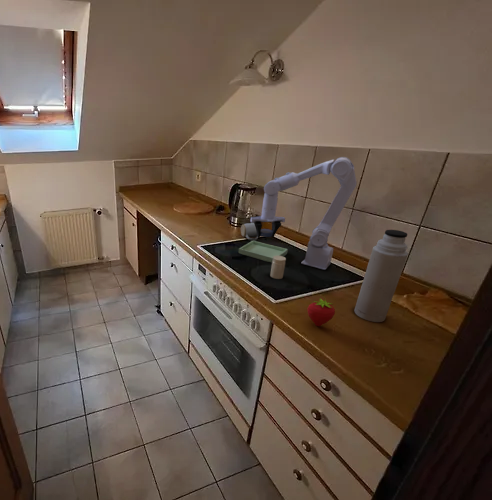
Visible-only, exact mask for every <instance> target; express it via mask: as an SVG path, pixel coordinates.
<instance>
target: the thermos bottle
mask: <svg viewBox="0 0 492 500" xmlns="http://www.w3.org/2000/svg"><path fill="white" fill-rule="evenodd" d="M407 237H408V233H407V232H406V231H403V230H398V229H385V231H384V234H383V237H382V238H381V239H378V240H377V242H376V245H374V246H373V247H372V250H371V253H370V257H369V260H368V264H367V267H366V270H365V273H364V277H363V280H362V283H361V287H360V290H359V294H358V297H357V300H356V303H355V307H354V313H355V315H356V316H358V317H359V318H361V319H363V320H366V321H369V322H373V323H382V322H384V321H385V320H386V318H387V315H388V313H389V310H390V306H391V303H392V300H393V298H394V295H395V292H396V289H397V287H398V284H399V280H400V278H401V275H402V272H403V270H404V267H405V264H406V261H407V259H408V256H409V252H408V251H407V250H408V244H407V243H406V238H407Z"/></svg>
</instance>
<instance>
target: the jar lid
mask: <svg viewBox="0 0 492 500" xmlns="http://www.w3.org/2000/svg"><path fill="white" fill-rule="evenodd" d="M271 236H273V231H272V229H270V228H261V232H260V237H264V238H272V237H271Z"/></svg>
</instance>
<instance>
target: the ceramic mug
mask: <svg viewBox="0 0 492 500" xmlns="http://www.w3.org/2000/svg"><path fill="white" fill-rule="evenodd" d="M240 235H241V237H243V238H246V239H247V240H248V241H250V242H251V241H257V240H258V239H259V238H258V237H257V231H256V227H255V224H254V223H252V222H250V223H249V222H248V223H243V224H241V225H240Z"/></svg>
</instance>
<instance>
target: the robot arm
mask: <svg viewBox="0 0 492 500" xmlns="http://www.w3.org/2000/svg"><path fill="white" fill-rule="evenodd" d="M330 174H331V175H332V176H333V177H335V178H336V179H337V181H338V183H339V185H340V187H339V188H338V190H337V192H336V194H335V196H334V197H333V199H332V201H331V203H330V204H329V206H328V208H327V210H326V212H325V214H324V215H323V217H322V219H321V220H320V222H319V224H318V225H317V226H316V227H314V228H313V229H312V232H311V235H310V236H309V241H308V242H307V248H306V253H305V256H304V259H303V260H302V261H301V263H300V264H302V265H306V266H309V267H313V268H317V269H320V270H324V271H325V270H327V269H328V268H329V266H330V265H331V264H332V263H331V262H332V258H333V254H334V247H332V246H329V243H328V241H329V236H330V233H331V231H332V228H333V226H334V225H335V223H336V221H337V219H338V218H339V216H340V215H341V213H342V211H343V210H344V208H345V206H346V204H347V203H348V200H349V199H350V197H351V196H352V194H353V192H354V190H355V189H356V187H357V184H358V183H357V176H356V171H355V165H354V164H353V162H352V161H351V159H350V158H349V157H346V156H340V157H338V158H335V159H330V160H326V161H324V162H321V163H319V164H316V165H314V166H312V167H310V168H306V169H305V170H303V171H301V172H298V173H297V172H294V171H292V172H289V171H288V172H286V173H285V175H282V176H279V177H275V178H274V179H272V180H269V181H268V182H267V183H265V185H264V186H263V192H264V195H263V200H262V208H261V213H260V214H261V215H259V216H251V217H250V219H249V221H250V223H254V224H255V227H256V231H257V237H258V239H260V238H261V236H260V232H261V229H263V228H262V227H263V224H262V223H271V230H272V231H273V236H271V237H270V238H271V239H274V238H275V235H276V234H277V232H278V231H279V229H280V228H281V226H282V223H285V222H286V217H284V216H276V213H277V206H278V199H279V191H280V192H283V191H286V190H288V189H291V188H294V187H296V186H298V185H299V183H300V182H301V181H303V180H306V179H309V178H312V177H315V176H318V175H329V176H330ZM257 237H256V238H257Z"/></svg>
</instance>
